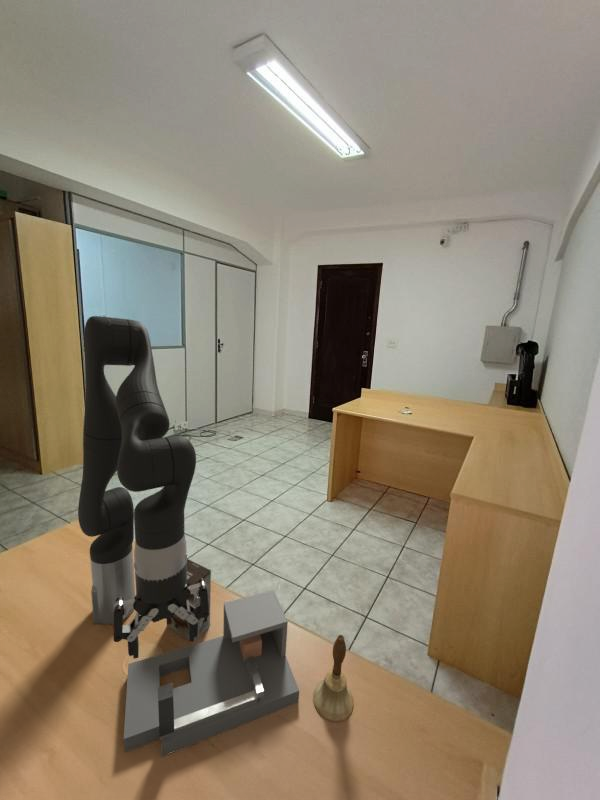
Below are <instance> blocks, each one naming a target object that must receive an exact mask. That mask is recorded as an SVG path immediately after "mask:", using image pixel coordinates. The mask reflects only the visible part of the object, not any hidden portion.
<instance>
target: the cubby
mask: <svg viewBox="0 0 600 800" xmlns="http://www.w3.org/2000/svg"><path fill="white" fill-rule="evenodd" d="M284 612H285V611H284V610H283V608H282V606H281V604H280V601H279V599H278V596H277V594H276V592H275V590H274V589H273V590H269V591H265V592H260V593H257V594H253V595H250V596H249V595H248V596H245V597H242V598H237V599H234V600H233V599H232V600H230V601H227V602H223V629H222V630H223V631H222V633H223V634H222V636H218V637H215V638H211V639H209V640H205V641H202V642H199V643H195V644H192V645H188V646H184V647H181V648H178V649H174V650H172V651H171V650H170V651H168V652H165V653H161V654H158V655H154V656H153V655H152V656H150V657H146V658H144V659H141V660H136V661H135V662H134V661H133V662H130V663H128V664H127V679H126V681H127V682H126V694H125V695H126V698H125V713H124V728H123V749H124V750H123V751H124V752H125V751H126V752H128V751H132V750H133V749H136V748H138V747H142V746H143V745H147V744H150V743H151V742H154V741H157V740H160V734H159V710H158V687H161V684H160V683H161V682H160V681H161V680H160V679H161V677H163V676H166V675H169V674H172V673H176V672H179V671H181V670H184V669H185V670H186V669H188V671H189V683H185V684H183V685H180V686H177V687H173V703H174V720H175V719H177V718H180V717H183V716H185V715H188V714H191V713H194V712H196V711H199V710H202V709H205V708H207V707H210V706H213V705H216V704H218V703H221V702H224V701H226V700H229V699H232V698H235V697H237V696H240V695H243V694H246V693H248V692H251V691H253V688H252V684H251V680H250V677H249V673H248V669H247V660H243V656H242V652H241V649H240V640H243V639H246V638H249V637H253V636H256V635H259V634H260V636H261V639H262V652H261V655H259V656H256V657H254V659H255V662H256V666H257V669H258V672H259V676H260V679H261V682H262V686H263V689H264V700H263V701H261V702H258V703H256V704H253V705H250V706H248V707H245V708H242V709H240V710H237V711H235V712H232V713H229V714H227V715H224V716H221V717H219V718H216V719H214V720H211V721H208V722H206V723H203V724H200V725H198V726H195V727H193V728H190V729H187V730H185V731H182V732H179V733H177V734H174V735H172V736H169V737H166V738H164V739H161V740H160V747H161V749H160V750H161V752H160V753H161V757H164V755H165V756H167V755H169V754H168V753H170V752H172V753H174V752H173V751H175V752H177V751H179V749H180V750H182V749H185V748H187V747H190V746H192V745H195V744H197V743H199V741H200V742H203V741H205V740H207V739H210V738H212V737H216V736H217V735H219V734H222V733H225V732H228V731H230V730H232V729H235V728H237V727H240V726H242V725H245V724H247V723H249V722H252V721H255V720H258V719H260V718H262V717H265V716H267V715H270V714H273V713H275V712H278V711H281V710H283V709H286V708H288V707H290V706H293V705H295V704H297V703H299V702H300V701H299V699H300V689H299V686H298V684H297V682H296V678H295V675H294V674H293V671H292V668H291V666H290V664H289V660H288V659H287V656H286V654H287V636H288V626H289V625H288V619H287V617H286V614H285V613H284ZM189 745H190V746H189ZM186 746H187V747H186ZM184 747H185V748H184ZM181 748H182V749H181ZM176 750H177V751H176ZM166 754H167V755H166ZM170 754H171V753H170Z"/></svg>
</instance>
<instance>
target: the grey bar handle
mask: <svg viewBox="0 0 600 800" xmlns="http://www.w3.org/2000/svg"><path fill="white" fill-rule="evenodd" d="M247 669H248V673H249V677H250V680H251V684H252V688H253V691H251V692H248V693H246V694H243V695H240V696H237V697H235V698H232V699H229V700H226V701H224V702H221V703H218V704H216V705H213V706H210V707H207V708H205V709H202V710H199V711H196V712H194V713H191V714H188V715H185V716H183V717H180V718H177V719H175V720H174V703H173V689H174V686H173V682H171V683H168V684H165V685H162V686H161V685H160V687H158V710H159V734H160V739H159V740H160V741H161V739H164V738H166V737H169V736H172V735H174V734H177V733H179V732H182V731H185V730H187V729H190V728H193V727H195V726H198V725H200V724H203V723H206V722H208V721H211V720H214V719H216V718H219V717H221V716H224V715H227V714H229V713H232V712H235V711H237V710H240V709H242V708H245V707H248V706H250V705H253V704H256V703H258V702H261V701H263V700H264V689H263V686H262V682H261V679H260V676H259V672H258V669H257V666H256V662H255V659H254V656H250V657H247Z"/></svg>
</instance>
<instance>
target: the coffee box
mask: <svg viewBox="0 0 600 800" xmlns="http://www.w3.org/2000/svg"><path fill="white" fill-rule="evenodd" d="M211 575H212V570H211V569H210V568H208V567H206V566H203V565H201V564H199V563H197V562H195V561H193V560H191V559H189V558H187V584H188V585H189V586H190V585H194V584H198V581H199V579H201V578H204V579H205V581H206V586H207V592H208V606H209V616H208V617H207V618H201V619H199V621H198V635H197V637H195V638H194V641H193V642H191V643H195V641H197V639H198V638H199V637H200V636H201V635H202V634H203V633H204V632H205V631H206V630H207V629H208V628H209V627H210V625H211V593H212V591H211V588H212V587H211V585H212V584H211V580H212V576H211ZM188 601H189V603H190V604H192V605H193V606H194V607H195V608H197V607H198V606H200V600H199V599H197V598H196V597H195V595H194V594H190V597H189V598H188ZM166 628H169V629H170V630H172V631H173V632H175V633H177V634H178V635H180V636H181V637H183V638H185V639H186V640H188V641H189V633H188V621H187V620H183V619H181V618H180V617H179V616H177V615H174V617H173V618H169V619H166Z"/></svg>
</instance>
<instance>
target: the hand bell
mask: <svg viewBox="0 0 600 800" xmlns="http://www.w3.org/2000/svg"><path fill="white" fill-rule="evenodd" d="M346 653H347V645H346V642H345V637H344V634H343V635H342V634H338V635H337V638H336V639H335V641H334V643H333V647H332V659H333V667H332V669H330V670H328V671H327V672H326V673H325V676H324V679H322V680H321V681H319V682H318V684H317V685H316V686H315V689H314V691H313V705H314V707H315V709H316V711H317V712H318V714H320V716H322V717H323V718H324V719H325V720H328V721H330V722H334V723H336V722H337V723H338V722H342V721H345V720H346V719H348V718H349V716H351V714H352V712H353V709H354V705H355V704H354V703H355V702H354V696H353V693H352V692H351V689H350V688H349V687H348V685H347V684H348V683H347V678H346V676H345V674H344V673H343V672H342V664H343V663H344V660H345V658H346Z"/></svg>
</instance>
